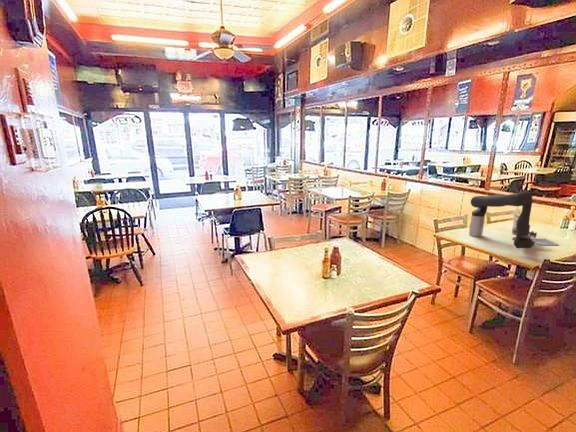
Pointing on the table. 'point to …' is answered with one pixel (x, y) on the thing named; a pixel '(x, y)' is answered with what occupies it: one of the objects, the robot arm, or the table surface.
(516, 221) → the candy bar box
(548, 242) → the slate mat
